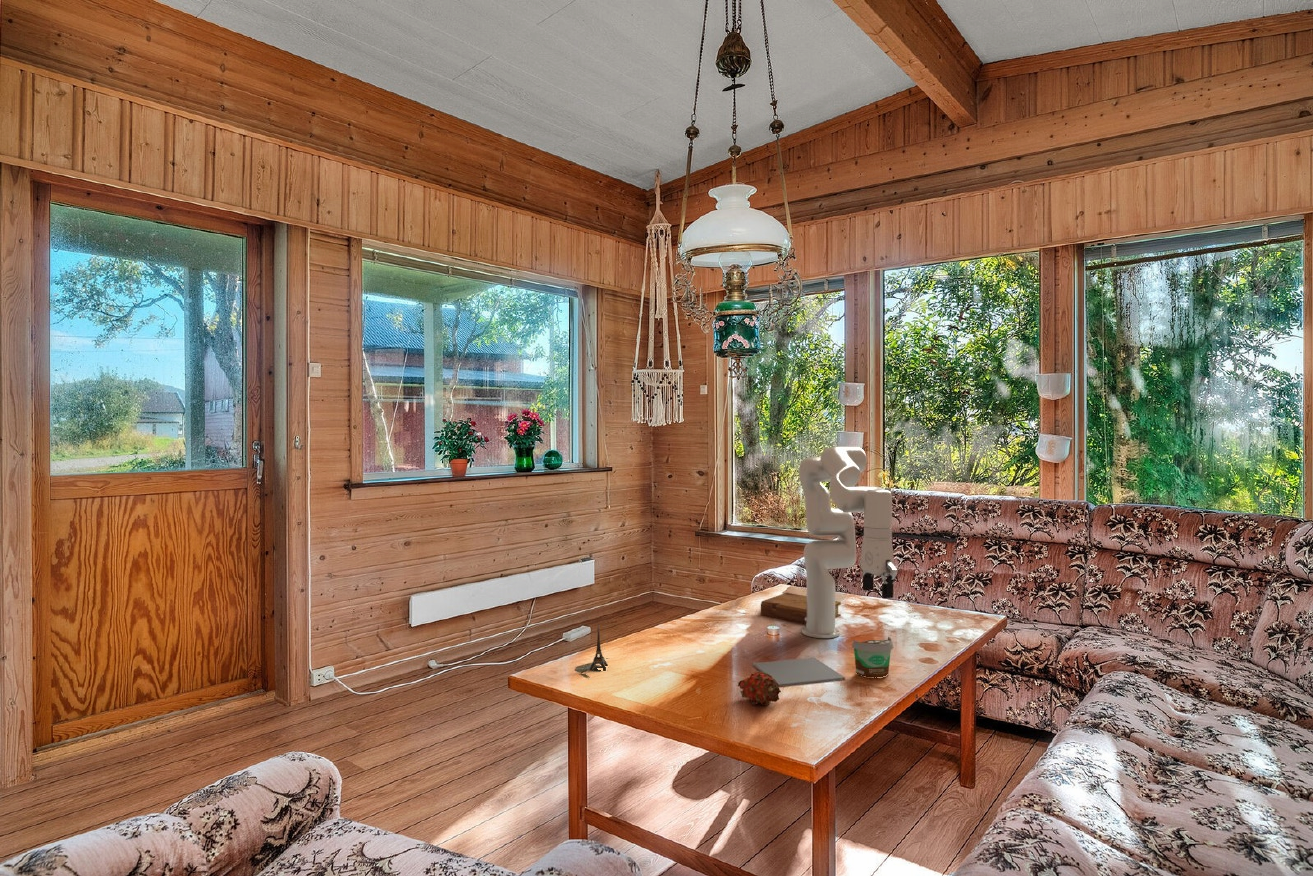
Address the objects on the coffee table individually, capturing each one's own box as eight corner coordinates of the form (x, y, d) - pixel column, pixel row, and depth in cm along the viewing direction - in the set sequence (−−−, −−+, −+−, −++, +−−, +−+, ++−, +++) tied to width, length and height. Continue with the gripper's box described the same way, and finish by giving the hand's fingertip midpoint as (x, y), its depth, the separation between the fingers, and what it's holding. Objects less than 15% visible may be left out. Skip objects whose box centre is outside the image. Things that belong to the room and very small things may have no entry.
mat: (753, 665, 217) (753, 663, 217) (814, 659, 222) (814, 657, 222) (779, 686, 200) (779, 684, 200) (845, 679, 205) (845, 677, 205)
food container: (863, 682, 203) (863, 646, 203) (851, 674, 209) (851, 639, 209) (902, 678, 206) (902, 642, 206) (889, 670, 212) (889, 636, 212)
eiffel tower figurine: (607, 659, 224) (607, 616, 223) (629, 668, 216) (628, 623, 216) (567, 671, 214) (566, 625, 213) (587, 680, 206) (587, 632, 206)
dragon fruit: (781, 716, 183) (740, 711, 191) (791, 688, 189) (751, 684, 197) (767, 694, 180) (726, 690, 187) (778, 666, 186) (738, 663, 193)
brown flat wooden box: (760, 617, 273) (760, 601, 273) (786, 607, 287) (786, 592, 287) (816, 627, 258) (816, 611, 258) (840, 616, 272) (840, 601, 272)
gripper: (849, 529, 214) (849, 588, 214) (883, 538, 197) (883, 601, 198) (872, 528, 216) (872, 586, 216) (907, 537, 199) (907, 600, 200)
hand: (877, 593), depth 207 cm, fingers open, 9 cm apart
